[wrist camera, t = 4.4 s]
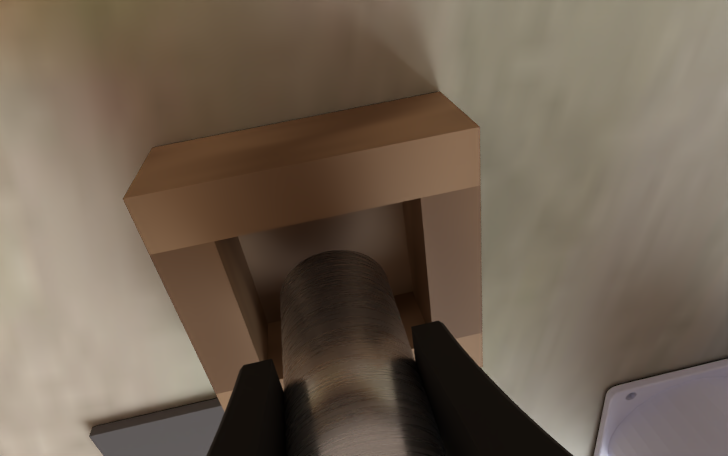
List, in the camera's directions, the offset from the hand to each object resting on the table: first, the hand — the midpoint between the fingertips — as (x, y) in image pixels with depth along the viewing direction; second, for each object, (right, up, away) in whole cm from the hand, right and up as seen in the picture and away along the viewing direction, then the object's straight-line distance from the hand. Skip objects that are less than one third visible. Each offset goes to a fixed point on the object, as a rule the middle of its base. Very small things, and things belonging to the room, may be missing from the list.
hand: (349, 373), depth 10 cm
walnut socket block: (-1, +3, +5) cm, 6 cm away
